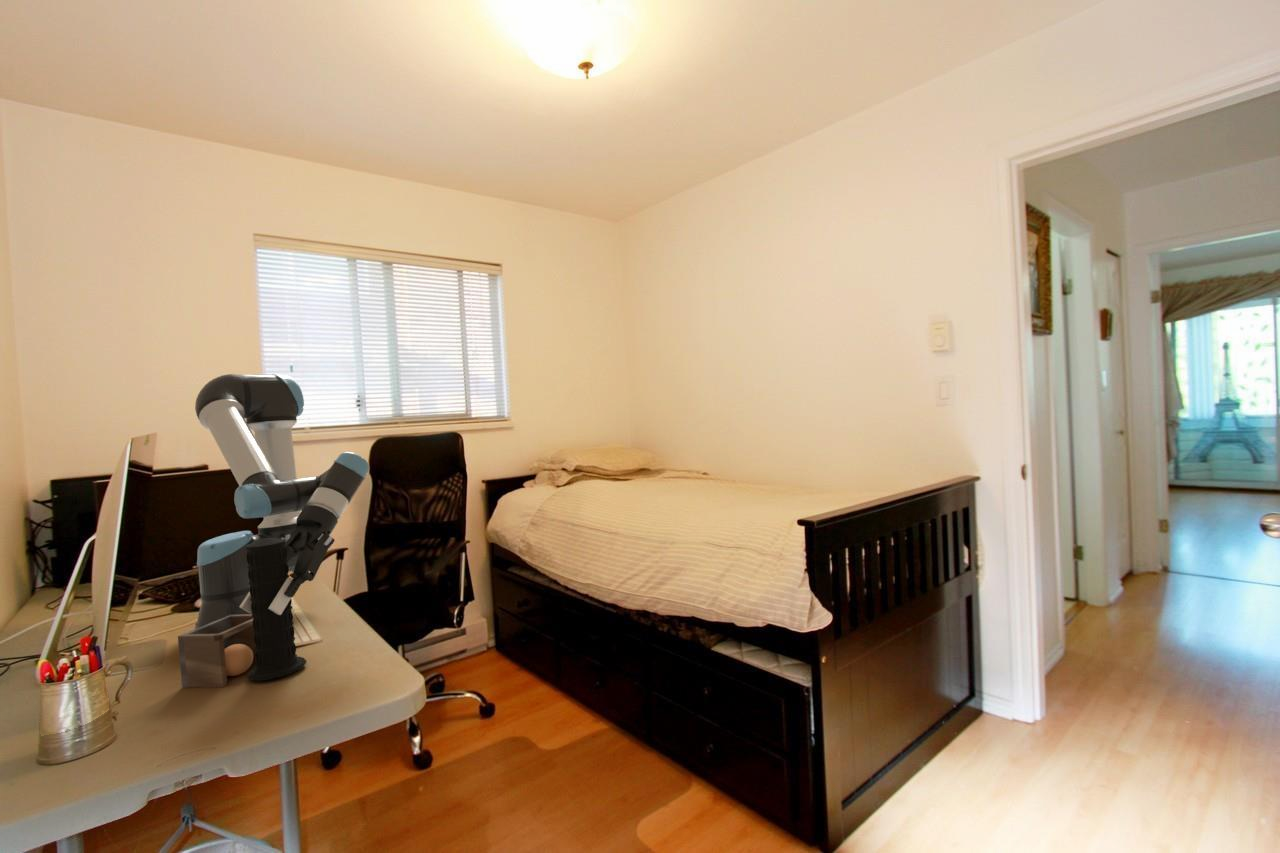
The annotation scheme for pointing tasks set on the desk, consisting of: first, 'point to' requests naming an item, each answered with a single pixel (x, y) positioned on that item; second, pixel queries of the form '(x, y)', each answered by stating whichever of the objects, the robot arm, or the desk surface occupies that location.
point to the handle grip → (270, 627)
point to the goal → (213, 650)
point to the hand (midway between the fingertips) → (260, 610)
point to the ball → (238, 659)
